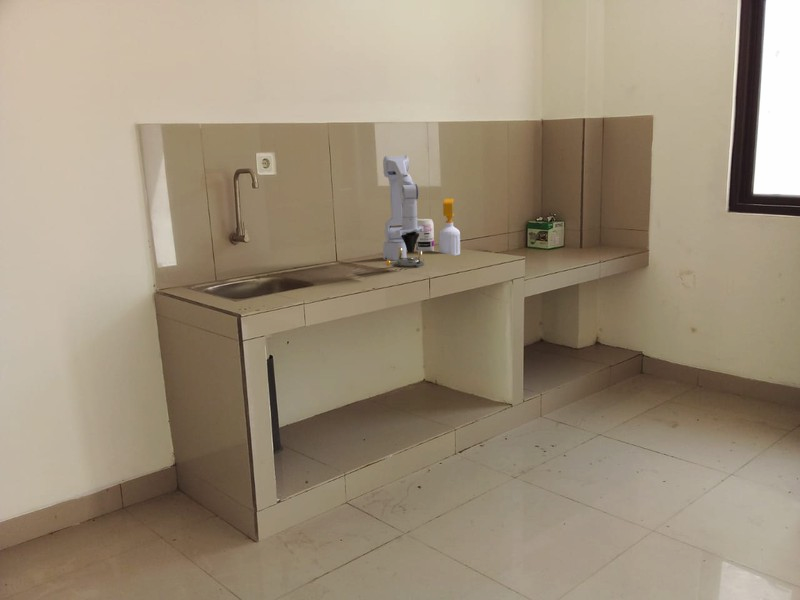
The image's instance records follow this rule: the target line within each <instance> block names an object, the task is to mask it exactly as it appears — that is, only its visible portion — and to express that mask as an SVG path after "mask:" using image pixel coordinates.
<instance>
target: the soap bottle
mask: <svg viewBox="0 0 800 600" xmlns="http://www.w3.org/2000/svg"><path fill="white" fill-rule="evenodd" d="M454 201H455V199H454V198H444V201H443V203H442V204H443V205H442V206H443V207H442V209H443V210H442V211H443V212H442V214H443V217H445V218H446V219H447V220H446V221H445V226H444V227H443V228H442V229H440V230H439V234H438V236H439V237H438V241H439V242H438V243H439V248H438V250H439V253H440V254H445V255H446V254H447V255H451V256H456V257H457V256H459V255H461V232H460V230H459V229H458V228H457V227H455V226H454V221H453V220H452V219H453V217H454V216H455V213H454V212H453V210H454V208H453V205H454V204H453V203H454Z"/></svg>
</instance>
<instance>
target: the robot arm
mask: <svg viewBox="0 0 800 600" xmlns="http://www.w3.org/2000/svg"><path fill="white" fill-rule="evenodd" d="M409 159H410V158H409V156H408V155H406V154H405V155H394V156H393V155H392V156H390V155H389V156H387V155H386V156H384V157H383V161H382V164H383V165H382V166H383V167H382V168H383V175H384V177H385V178H388V182H389V198H390V199H389V200H390V218H389V219H388V220H386V221H385V223H384V238H385V241H384V242H383V245H382V255H383V260H384V261H387V260H390V261H397V259H399V255H398V248H402V257H403V258H407V255H408V254H407V253H411V254H413V253H415V250H416V241H417V239H418V237H419V233H416V232H420V231H421V232H422V231H423V226H417V219H418V207H417V206H418V202H417V201H418V199H419V188H418V184H417V183H415V182H414V181H413V178H412V176H411V175H410V174H409V173H408V171H409V170H410V160H409Z"/></svg>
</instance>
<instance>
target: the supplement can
mask: <svg viewBox="0 0 800 600" xmlns="http://www.w3.org/2000/svg"><path fill="white" fill-rule="evenodd" d="M417 226H423V231H422V232H421V231H420V232H416V233H419V237H418V239H417V241H416V244H415V251H416V253H418V252H419V251H422V253H423V252H434V251H435V239H434V238H435V231H434V227H435V226H434V221H433V219H432V218H417Z"/></svg>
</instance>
